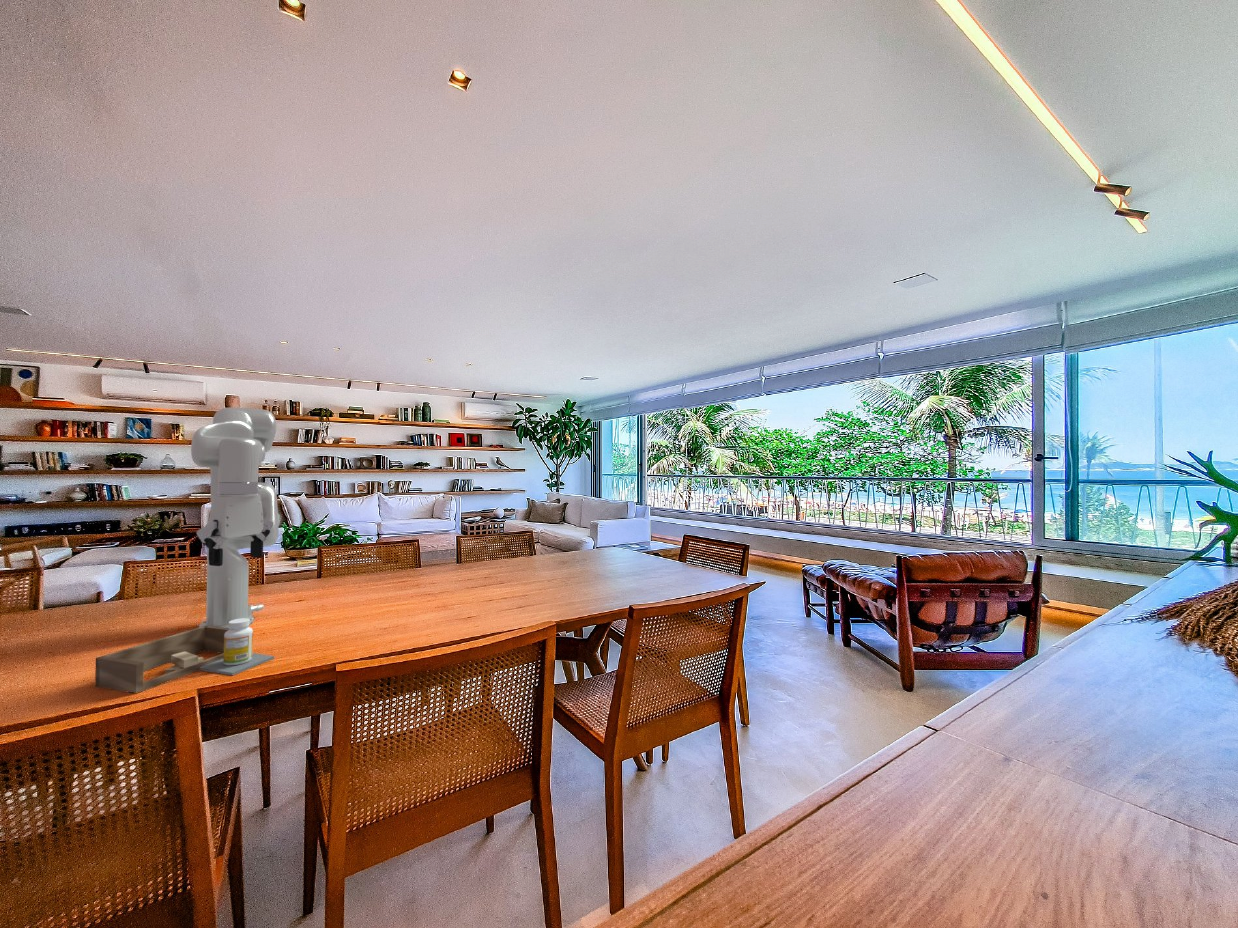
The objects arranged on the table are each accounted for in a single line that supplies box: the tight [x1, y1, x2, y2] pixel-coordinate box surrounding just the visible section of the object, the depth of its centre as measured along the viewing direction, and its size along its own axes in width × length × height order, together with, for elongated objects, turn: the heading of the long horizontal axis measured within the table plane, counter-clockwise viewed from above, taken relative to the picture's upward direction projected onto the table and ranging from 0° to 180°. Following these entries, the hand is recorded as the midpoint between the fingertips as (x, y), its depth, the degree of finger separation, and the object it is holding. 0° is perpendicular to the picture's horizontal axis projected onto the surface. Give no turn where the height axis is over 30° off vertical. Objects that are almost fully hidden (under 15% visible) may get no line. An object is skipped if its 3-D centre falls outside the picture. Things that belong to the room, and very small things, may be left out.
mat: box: [198, 652, 275, 676], centre depth 115 cm, size 10×10×1 cm
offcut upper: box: [170, 652, 199, 668], centre depth 111 cm, size 6×3×2 cm, turn 64°
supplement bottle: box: [224, 618, 254, 665], centre depth 115 cm, size 5×5×10 cm
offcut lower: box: [164, 656, 204, 674], centre depth 112 cm, size 7×3×2 cm, turn 2°
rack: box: [94, 625, 229, 694], centre depth 112 cm, size 22×12×6 cm, turn 166°
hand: (236, 561), depth 116 cm, fingers open, 9 cm apart
